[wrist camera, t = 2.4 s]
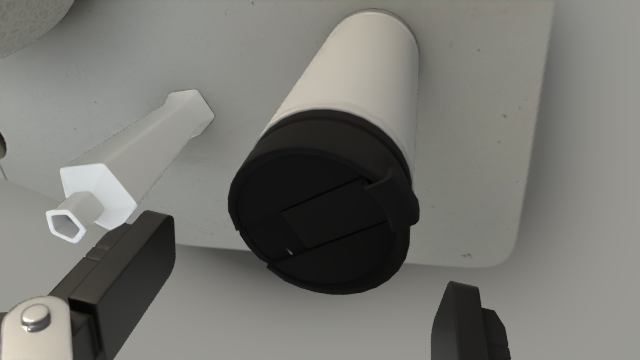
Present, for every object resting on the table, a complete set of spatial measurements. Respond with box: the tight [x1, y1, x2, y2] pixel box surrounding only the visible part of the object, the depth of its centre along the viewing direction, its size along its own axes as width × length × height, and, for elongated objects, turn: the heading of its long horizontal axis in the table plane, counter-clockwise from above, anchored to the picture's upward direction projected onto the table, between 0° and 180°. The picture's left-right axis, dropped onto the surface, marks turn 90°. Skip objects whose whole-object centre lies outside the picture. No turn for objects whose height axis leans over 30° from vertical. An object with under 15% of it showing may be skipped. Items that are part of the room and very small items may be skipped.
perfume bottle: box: [46, 89, 215, 243], centre depth 30 cm, size 5×4×15 cm
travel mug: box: [228, 9, 420, 295], centre depth 23 cm, size 6×7×20 cm
